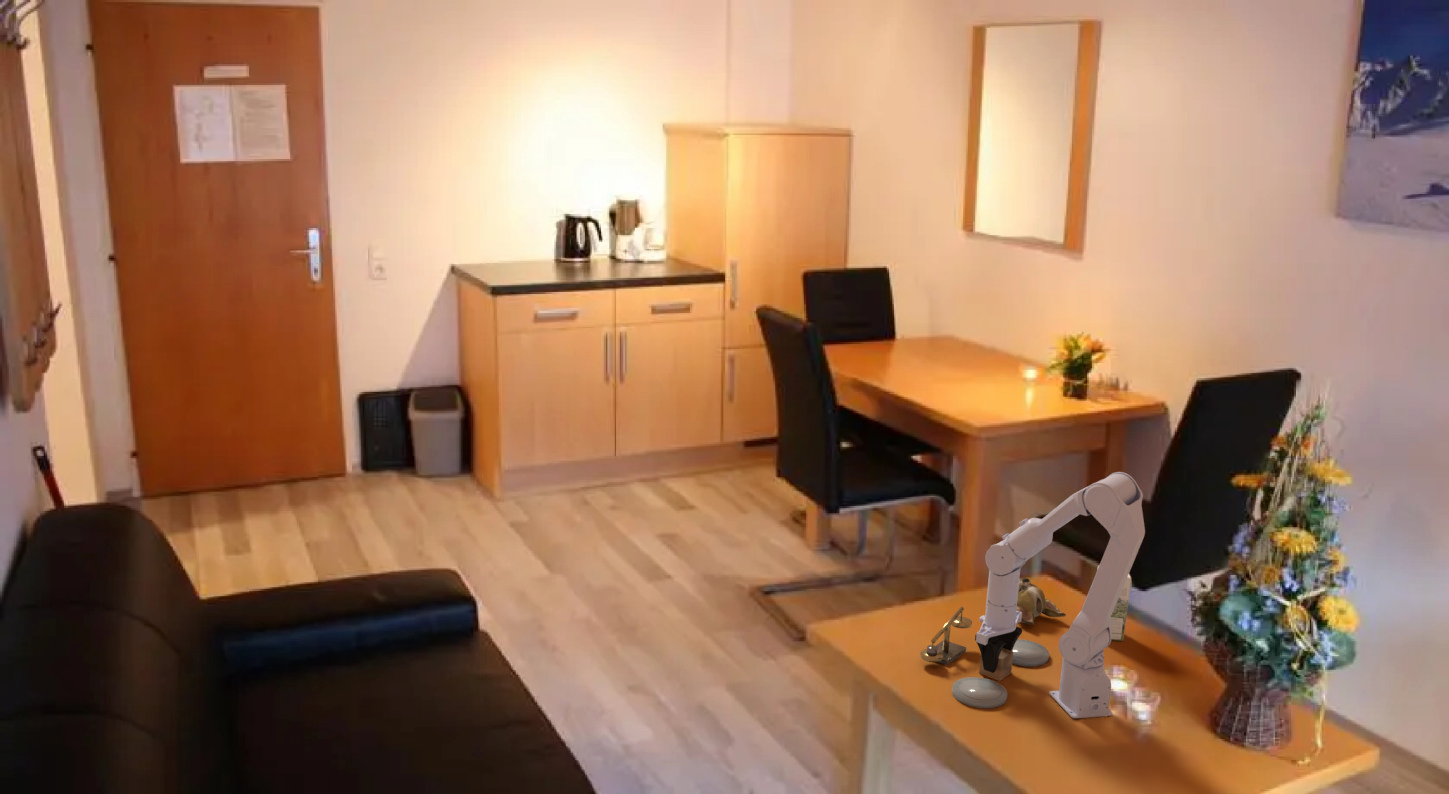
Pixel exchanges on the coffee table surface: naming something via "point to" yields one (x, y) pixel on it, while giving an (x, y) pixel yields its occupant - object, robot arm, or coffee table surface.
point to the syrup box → (1120, 612)
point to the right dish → (1029, 653)
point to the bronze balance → (947, 642)
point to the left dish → (979, 692)
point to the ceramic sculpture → (1034, 603)
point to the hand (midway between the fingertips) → (995, 666)
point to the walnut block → (999, 665)
